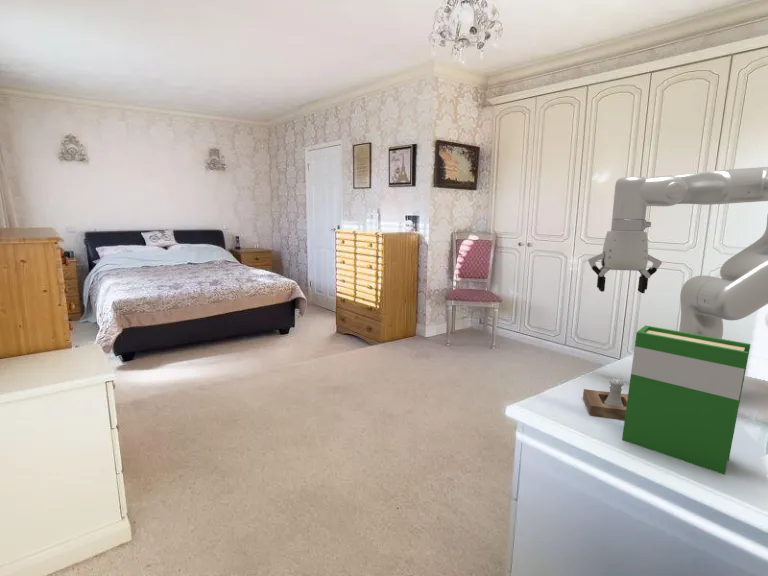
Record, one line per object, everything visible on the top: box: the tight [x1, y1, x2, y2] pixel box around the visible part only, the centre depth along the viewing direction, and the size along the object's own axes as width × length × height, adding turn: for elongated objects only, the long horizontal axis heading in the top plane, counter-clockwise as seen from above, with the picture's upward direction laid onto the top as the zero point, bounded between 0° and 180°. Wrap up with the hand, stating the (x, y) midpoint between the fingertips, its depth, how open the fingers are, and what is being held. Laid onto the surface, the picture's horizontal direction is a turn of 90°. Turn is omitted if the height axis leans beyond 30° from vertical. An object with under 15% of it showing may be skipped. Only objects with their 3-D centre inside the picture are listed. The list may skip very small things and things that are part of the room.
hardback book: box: [621, 325, 751, 476], centre depth 89 cm, size 18×7×24 cm, turn 47°
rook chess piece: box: [604, 376, 625, 406], centre depth 108 cm, size 4×4×8 cm
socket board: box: [582, 388, 628, 421], centre depth 108 cm, size 16×10×2 cm, turn 75°
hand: (621, 291), depth 117 cm, fingers open, 9 cm apart
